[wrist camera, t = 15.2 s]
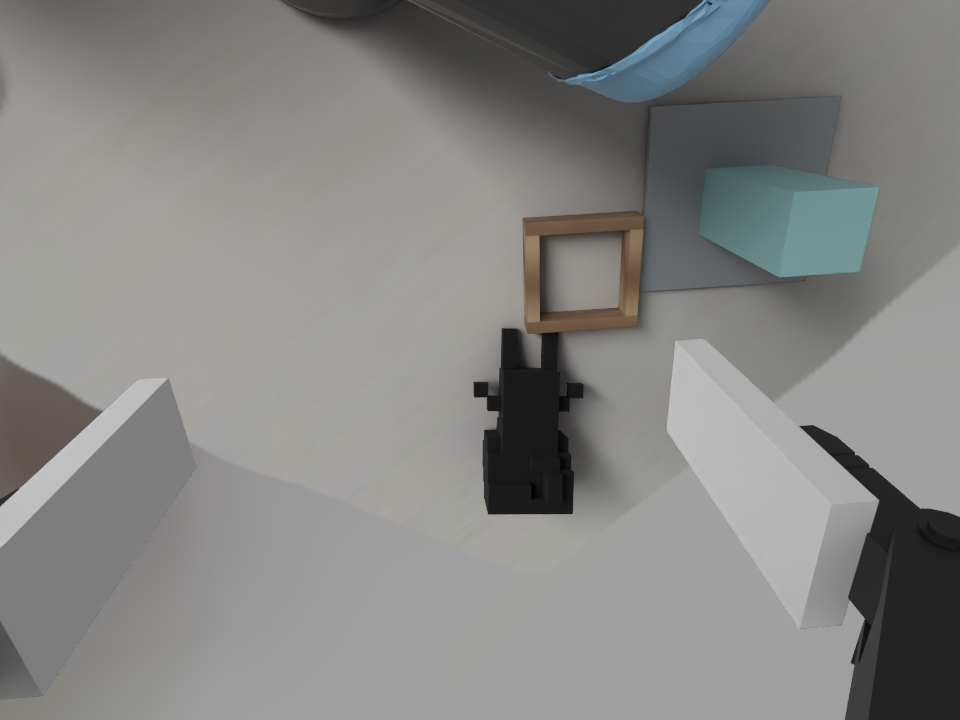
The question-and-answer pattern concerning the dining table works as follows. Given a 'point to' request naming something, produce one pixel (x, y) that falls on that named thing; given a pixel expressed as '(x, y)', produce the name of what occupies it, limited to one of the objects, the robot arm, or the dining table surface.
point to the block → (788, 218)
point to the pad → (717, 144)
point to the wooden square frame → (628, 275)
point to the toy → (528, 435)
